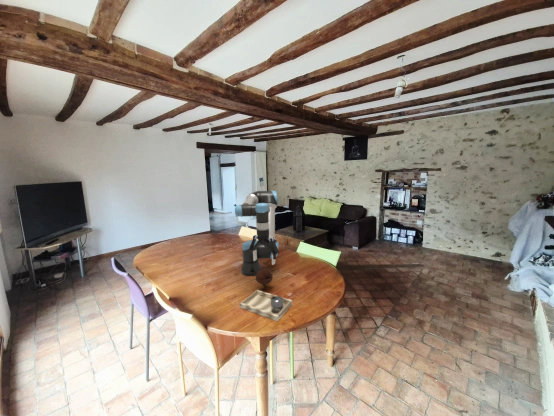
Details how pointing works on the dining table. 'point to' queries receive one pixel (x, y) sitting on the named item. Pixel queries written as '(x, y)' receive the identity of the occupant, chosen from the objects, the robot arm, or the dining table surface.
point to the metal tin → (276, 304)
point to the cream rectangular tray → (264, 305)
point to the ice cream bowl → (264, 277)
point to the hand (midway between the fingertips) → (264, 262)
